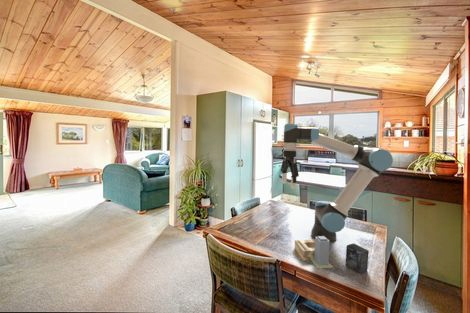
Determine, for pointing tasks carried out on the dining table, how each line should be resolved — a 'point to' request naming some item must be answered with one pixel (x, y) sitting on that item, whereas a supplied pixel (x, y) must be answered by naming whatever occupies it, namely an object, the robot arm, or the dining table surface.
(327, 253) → the plug
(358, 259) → the box
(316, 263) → the felt pad
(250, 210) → the dining table surface
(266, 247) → the dining table surface
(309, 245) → the socket block
